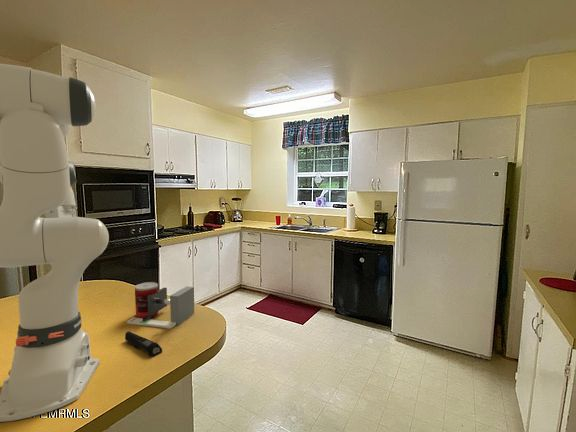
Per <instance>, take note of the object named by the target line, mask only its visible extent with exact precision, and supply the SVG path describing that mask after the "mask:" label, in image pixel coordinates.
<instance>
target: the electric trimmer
mask: <svg viewBox="0 0 576 432" xmlns="http://www.w3.org/2000/svg"><path fill="white" fill-rule="evenodd" d="M124 336H125V337H124V339H125V341H126V342H127V343H128V344H129V345H130V346H132V347H133V348H139V349H141V350H142V351H144V352H145V353H147V354H148V356H149V358H154V357H156V356H158V355H160V354H162V353H163V349H162V347H161V345H160V344H159V343H158V342H155V341H152V340H151V339H148V338H146V337H143V336H141V335H138V334H136V333H134V332H131V331H130V330H129V331H127V332H125V335H124Z"/></svg>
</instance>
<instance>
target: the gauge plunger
mask: <svg viewBox="0 0 576 432" xmlns="http://www.w3.org/2000/svg"><path fill="white" fill-rule="evenodd" d="M167 291H168V288H167V287H162V288H160V289H158V291H156V292H154V293H152V294H150V295H148V296H147V297H148V316H146V317H145V318H143V321H146V320H148V319H151V318H152V317H151V315H153V314H154V313H156V312H158V313H159V312H160V311H161V310H162V309H164V308H166V307H167V306H168V305H169V306H170V298H169V299H168V293H167Z"/></svg>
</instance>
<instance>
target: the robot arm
mask: <svg viewBox="0 0 576 432" xmlns="http://www.w3.org/2000/svg"><path fill="white" fill-rule="evenodd" d="M96 111H97V104H96V98H95V96H94V94H93V92H92V90H91V87H90V86H89V85H88V84H87V83H86V82H85V81H82V80H80V79H77V78H76V77H75V78H74V77H71V76H70V77H66V76H62V75H59V74H55V73H53V72H48V71H43V70H39V69H33V68H32V67H28V66H23V65H15V64H7V63H0V183H1V184H2V188H3V189H2V190H3V197H2V202H1V204H0V268H2V269H4V268H6V269H10V268H11V269H12V268H21V267H22V268H23V267H29V266H39V265H51V269H50V271H48V272H47V273H46V274H44V275H43V276H39V277H38V278H36V279H34V280H32V281H31V282H29V283H28V284H27V285H25V286H24V287H23V288H22V289H21V290H20V292H19V294H18V298H17V300H18V314H19V325H18V327H17V333H16V339H15V346H14V347H13V357H12V363H11V367H10V369H9V371H8V376H9V377H7V378H6V379H4V381H3V383H2V387H1V390H0V422H3V423H4V422H13V421H17V420H22V419H27V418H32V417H35V416H39V415H42V414H46V413H48V412H49V413H50V412H52V411H55V410H57V409H60V408H63V407H64V406H67V405H69V404H71V403H73V402H75V401H76V400H78V399H79V398H80V396H81V394H82V393H83V391H84V390H85V388H86V386H87V385H88V384H89V381H90V380H91V378H92V377H93V374H94V373H95V372H96V370H97V368H98V367H99V365H100V360H99V358H96V357H92V349H91V341H90V334H88V333H87V331H84V330H83V329H82V316H81V312H80V311H79V286H80V285H79V284H80V281H81V278H82V276H83V274H84V272H85V270H86V269H87V268H88V267H89V265H90V264H91V263H92V262H93V261H95V259H96V258H98V257H100V256H101V255H102V254H103V252H104V251H105V250H106V248H107V247H108V245H109V241H110V238H109V237H110V235H109V231H108V228H107V226H106V225H105V224H104V223H103V222H102V221H101V220H100V219H97V218H92V217H91V218H90V217H82V216H77V209H78V204H77V202H76V199H75V198H76V197H75V193H74V191H73V188H72V186H74V185H75V184H76V183H77V182H78V180H77V177H76V171H75V170H76V165H74V164H73V163H72V162H70V161H69V155H68V149H67V143H66V140H65V138H66V137H67V136H68V135H69V133H70V129H71V126H72V127H83V126H88V125H89V124H90V123H92V121H93V118H94V116H95V115H96ZM42 215H44V216H45V217H41V216H42Z"/></svg>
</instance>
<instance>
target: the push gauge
mask: <svg viewBox="0 0 576 432" xmlns="http://www.w3.org/2000/svg"><path fill="white" fill-rule="evenodd" d="M169 299H170V305H169V306H170V310H169V311H170V321H167V320H159V319H151V318H149V319H148V320H146V321H143V318H138V317H135V316H134V317H133V316H132V318H130V319H128V320H127V321H126V324H131V325H137V326H138V325H139V326H145V327H146V326H148V327H155V328H162V329H163V328H164V329H173V327H175V326H176V325H177V326H179V325H180V324H182V323H184V322H185V321H186V320H187V319H188V317H189V316H190V317H191V316H193V315H194V314H195V287H194V286H185V287H182V288H181V289H179V290H177V291H176V292H174V293H173V294H171V295H169ZM193 313H194V314H193ZM192 314H193V315H192ZM190 317H189V318H190ZM184 320H185V321H184Z"/></svg>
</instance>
